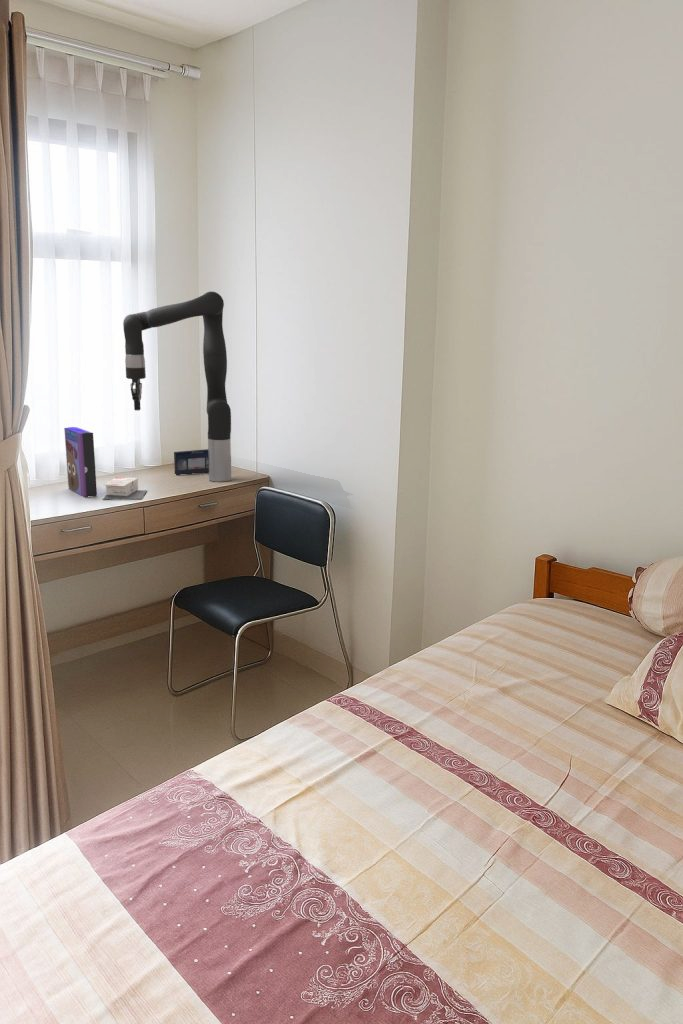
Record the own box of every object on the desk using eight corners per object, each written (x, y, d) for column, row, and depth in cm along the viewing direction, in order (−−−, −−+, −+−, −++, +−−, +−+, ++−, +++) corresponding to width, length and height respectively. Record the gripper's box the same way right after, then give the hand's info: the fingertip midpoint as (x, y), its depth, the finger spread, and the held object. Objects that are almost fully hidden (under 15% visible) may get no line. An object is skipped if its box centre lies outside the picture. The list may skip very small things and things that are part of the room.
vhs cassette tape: (176, 475, 330) (175, 452, 328) (174, 474, 333) (173, 451, 330) (217, 472, 339) (216, 449, 337) (214, 471, 342) (214, 448, 339)
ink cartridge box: (117, 489, 302) (102, 497, 288) (116, 476, 301) (101, 483, 287) (138, 490, 301) (125, 498, 287) (138, 477, 300) (124, 484, 286)
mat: (147, 491, 301) (146, 490, 301) (141, 499, 287) (141, 498, 287) (109, 491, 299) (109, 490, 299) (102, 500, 286) (102, 498, 286)
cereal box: (68, 488, 302) (64, 427, 296) (80, 487, 305) (76, 426, 299) (84, 497, 289) (80, 433, 283) (97, 495, 292) (93, 432, 286)
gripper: (142, 367, 301) (144, 412, 305) (147, 365, 314) (149, 408, 318) (122, 367, 300) (125, 412, 304) (128, 365, 313) (130, 408, 317)
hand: (137, 410), depth 311 cm, fingers closed
